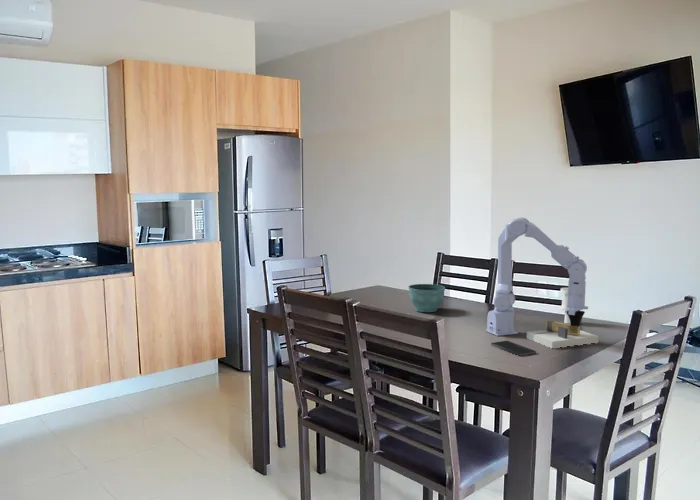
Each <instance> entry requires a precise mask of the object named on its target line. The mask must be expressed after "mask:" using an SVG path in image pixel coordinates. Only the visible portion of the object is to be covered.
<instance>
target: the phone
mask: <svg viewBox="0 0 700 500" xmlns="http://www.w3.org/2000/svg"><path fill="white" fill-rule="evenodd" d="M490 346H491V347H494V348H497V349H498V348H499V350H501V351H503V350H504V352H506V351H507V352H506V353H508V352H509V354H511V353H512V354H511V355H514V354H515V355H514V356H516V355H518V356H517V357H525V356H524V355H527V356H531V354H533V355H536V354H537V351H536V350H534V349H532V348H530V347H529V348H528V347H525V346H523V345H520V344H518V343H515V342H513V341H509V340H503V341H502V340H501V341H496V342H491V345H490Z"/></svg>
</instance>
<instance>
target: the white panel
mask: <svg viewBox="0 0 700 500" xmlns="http://www.w3.org/2000/svg"><path fill="white" fill-rule="evenodd" d="M599 338H600V337H599V335H597V334H593V333H590V332H588V331H587V332H586V331H584V330H581V329H580V335H573V334H568V329H567V328H564V327H561V326H559V327H558V332H557V331H548V330H547V329H540V330H532V331H531V330H530V331H526V340H530V341H532V342H535V343H537V344H539V343H540V345H542V346H544V345H545V347H547V348H549V347H550V349H552V348H553V349H561V348H560V347H562V348H568V347H567V346H570V347H575V346H574V345H578V346H584V345H583V344H587V345H592V344H591V343H595V344H599Z"/></svg>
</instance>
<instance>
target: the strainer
mask: <svg viewBox="0 0 700 500" xmlns="http://www.w3.org/2000/svg"><path fill="white" fill-rule="evenodd" d="M560 292H561V293H563V294H562V297H561V305H560V306H559V310H561V311H564V321H563V323H566V324H571V323H570V319H569V316H568V315H567V311H568V308H567V305H568V287H561V288H560Z"/></svg>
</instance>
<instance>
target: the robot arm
mask: <svg viewBox="0 0 700 500" xmlns="http://www.w3.org/2000/svg"><path fill="white" fill-rule="evenodd" d="M523 235H524V237H527V238H533V239H534V240H535V241H537V242H538V243H540V244H541V245H542V246H543V247H545V248H546V249H547V250H549V252H550V254H551V258H552V259H553V260H554V261H556V262H557V263H558V264H559V265H561V267H563V269H566V270H567V273H568V275H569V277H568V278H569V279H568V285H567V286H568V287H567V288H568V305H567V308H568V311H567V315H568V316H569V319H570V323H571V324H572V325H577V326H580V325H581V322H582V319H583V318H584V315H585V313H586V312H585V311H584V310H588V309H589V306H586V305H585V303H586V287H587V286H586V285H587V282H586V272H587V270H588V267H587V263H586V262H585V260H583V259H580V256H578V255H575V254H574V253H572V252H571V251H570V248H569V246H567V245H565V246H564V245H562V244H561V245H560V244H556V242H555V241H553V239H551V238H550V237H549V236H548V235H547V234H546V233H544V232H543V231H542V230H541V229H540V228H539V227H538V226H536V224H535V223H534V222H532V221H529V220H528V219H527V218H526V217H518V218H514V219H512V220H510V221H509V222H507V224H506V225H505V226H504V229H503V230H502V231H501V233H500V235H499V236H498V239H497V287H496V290H495V297H494V299H493V305H494V309H493V310H489V311H488V313H487V319H486V321H487V322H486V329H485V332H488V333H490V334H493V335H495V336H497V337H500V336H508V335H517V334H519V332H518V331H516V330H514V326H515V325H514V322H515V320H514V319H515V308H514V306H513V305H514V304H515V302H516V295H515V294H514V287H513V284H512V282H513V281H512V279H513V277H512V272H513V271H512V267H513V266H512V265H513V264H512V263H513V262H512V257H513V255H512V254H513V253H512V252H513V251H512V250H513V245H512V244H513V243H514V242H515V241H516V240H517V239H518V238H519V237H521V236H523ZM580 327H581V326H580Z"/></svg>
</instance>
